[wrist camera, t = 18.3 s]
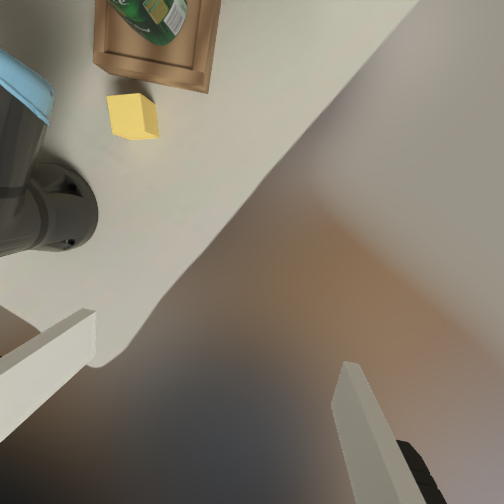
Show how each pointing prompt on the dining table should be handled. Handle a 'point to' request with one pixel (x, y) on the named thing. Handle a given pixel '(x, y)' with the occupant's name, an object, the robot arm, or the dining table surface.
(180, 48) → the walnut tray
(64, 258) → the dining table surface
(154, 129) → the mustard cube
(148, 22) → the coffee jar
